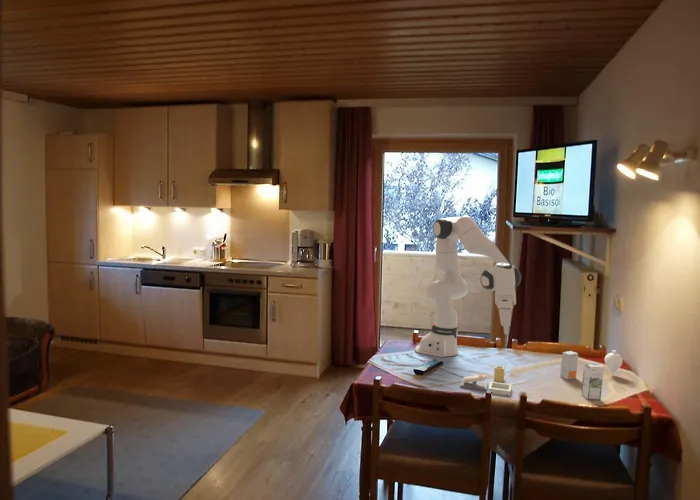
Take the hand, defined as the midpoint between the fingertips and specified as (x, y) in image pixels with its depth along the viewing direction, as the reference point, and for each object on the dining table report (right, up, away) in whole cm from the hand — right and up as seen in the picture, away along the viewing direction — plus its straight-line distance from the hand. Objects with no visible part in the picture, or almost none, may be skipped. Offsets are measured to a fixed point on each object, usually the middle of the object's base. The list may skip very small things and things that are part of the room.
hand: (506, 330), depth 242 cm
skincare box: (+32, -24, +13) cm, 42 cm away
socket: (-5, -25, -7) cm, 26 cm away
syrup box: (+32, -27, -11) cm, 43 cm away
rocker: (-15, -20, -3) cm, 25 cm away
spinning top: (+55, -24, +19) cm, 63 cm away
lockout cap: (-2, -23, +7) cm, 24 cm away
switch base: (-15, -24, -2) cm, 28 cm away
